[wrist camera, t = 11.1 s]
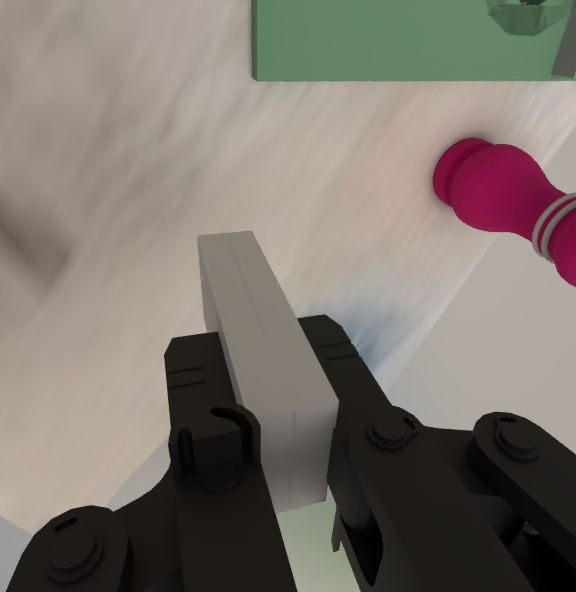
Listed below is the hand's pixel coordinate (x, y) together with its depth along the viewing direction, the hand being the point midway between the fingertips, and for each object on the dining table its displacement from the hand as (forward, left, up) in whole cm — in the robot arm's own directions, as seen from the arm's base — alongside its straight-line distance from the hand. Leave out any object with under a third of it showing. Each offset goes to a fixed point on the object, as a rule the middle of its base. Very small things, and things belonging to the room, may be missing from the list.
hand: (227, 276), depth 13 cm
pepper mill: (+26, -6, -25) cm, 36 cm away
